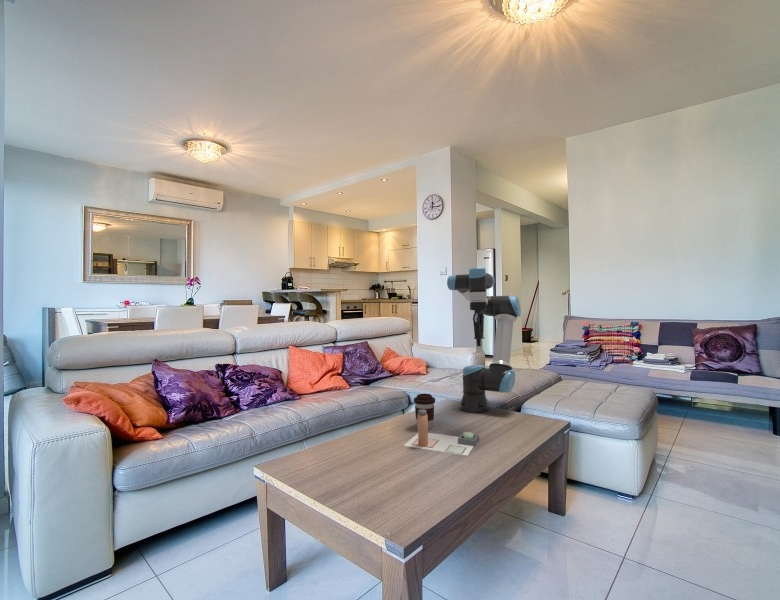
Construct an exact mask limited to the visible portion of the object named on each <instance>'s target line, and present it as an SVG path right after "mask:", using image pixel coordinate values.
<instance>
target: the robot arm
mask: <svg viewBox="0 0 780 600" xmlns="http://www.w3.org/2000/svg"><path fill="white" fill-rule="evenodd" d="M446 284H447V289H448V290H450V291H457V292H458V293H459V294H460V295H462V296H463V298H465V299H466V300H467V301H468V302H469V310H470V311H474V313H473V316H472V322H473V332H474V333H473V335H474V337H473V339H474V340H475V351H476V352H475V353H476V354H483V353H484V347H483V345H484V344H483V341H484V340H483V339H485V335H484V331H485V328H484V326H485V325H484V324H485V323H484V320H485V316H488V317H494V319H495V320H496V329H495V339H494V340H495V341H494V347H493V356H492V362H490V363H489V366H488V368H487V367H486V366H485V364H472V365H467V366H465V367H463V369H462V390H463V391H462V397H461V400H460V403H459V404H460V405H459V407H460V410H461V411H464V412H469V413H484V412H488V411H489V410H490V406H489V405H490V404H489V401H488V398H487V395H486V391H487V392H495V393H496V392H497V393H507V394H508V393H510V392H511V391H512V390H513V388H514V386H515V382H516V372H515V371H514V370H513V367H512V365H511V364H510V363H511V353H512V340H513V331H514V323H516V321H517V317H518V318H519V317H520V316H521V313H522V311H521V303H520V300H519V297H518V296H516V295H487V293H488V292H487V290H489V289H491V288H493V287H494V285H495V277H494V276H493V275H492V274H490V273H487V269H486V268H485V267H471V268H470V269H469V271H468V274H466V273H464V274H452V275H448V277H447V281H446Z"/></svg>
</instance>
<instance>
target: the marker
mask: <svg viewBox="0 0 780 600" xmlns="http://www.w3.org/2000/svg"><path fill="white" fill-rule="evenodd" d="M418 412H419V414H418V427H417V433H418V445H419V446H427V445H428V433H429V429H428V416H427V414H426V410H419V411H418Z"/></svg>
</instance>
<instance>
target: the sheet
mask: <svg viewBox="0 0 780 600" xmlns="http://www.w3.org/2000/svg"><path fill="white" fill-rule="evenodd" d="M458 438H459V436H457V435H456V436H455V435H448V434H440V433H433V432H428V445H427V446H419V445H418V432H417V433H416V434H415V435H414V436H413V437H411V439H409V440H408V441H407V442H406V443H404V444H403V447H410V448H415V449H422V450H428V451H435V452H440V453H441V452H442V453H448V454H455V455H460V456H469V454H470V453H471V451H472V449H473V448H474V447H475V446H472V445H465V444H458Z"/></svg>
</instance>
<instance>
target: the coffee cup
mask: <svg viewBox="0 0 780 600" xmlns="http://www.w3.org/2000/svg"><path fill="white" fill-rule="evenodd" d="M413 403H414V404H415V406H414V411H415V412H414V414H415V420H416V427H417V428H418V414H419V412H418V411H419V410H426V414H427V416H428V430H430V429H433V428H434V419H435V403H436V398H435V397H433V396H432V394H430V393H419V394H416V396H415V397H414V398H413Z"/></svg>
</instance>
